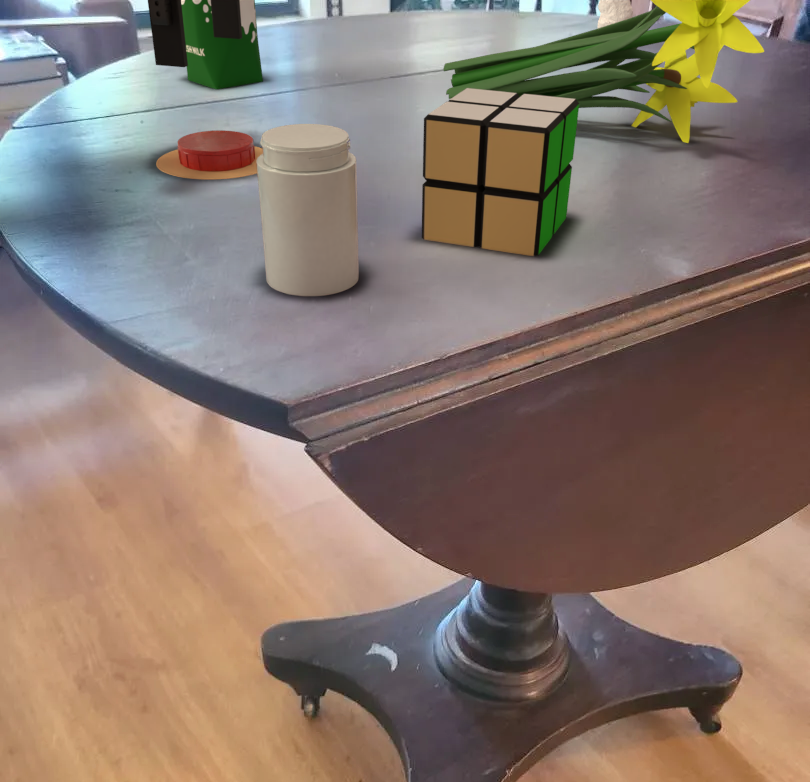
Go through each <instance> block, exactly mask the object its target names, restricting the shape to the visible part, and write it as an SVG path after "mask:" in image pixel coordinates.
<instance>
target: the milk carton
mask: <svg viewBox="0 0 810 782" xmlns="http://www.w3.org/2000/svg"><path fill="white" fill-rule="evenodd" d="M181 5H182V14H183V24H184V33H185V42H186V52H187V61H188V66H186V75H187V76H186V77H187V81H189V82H192V83H195V84H198V85H200V86H201V85H202V86H204V87H208V88H210V89H213V90H222V89H228V88H229V89H230V88H234V87H239V86H247V85H251V84H256V83H262V82H264V78H263V77H264V76H263V69H262V62H261V53H260V46H259V36H258V25H257V12H256V11H257V10H256V0H240V13H241V27H242V38H241V39H231V38H217V37H214V33H213V21H212V10H211V0H181Z"/></svg>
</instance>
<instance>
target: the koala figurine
mask: <svg viewBox="0 0 810 782" xmlns="http://www.w3.org/2000/svg"><path fill="white" fill-rule="evenodd" d="M631 4H632V2H631V0H599V1H598V4H597V9H598V11H599V13H600V14H599V18H598V21H597V29H598V28H601V27H604V26H607V25H610V24H613V23H617V22H620V21H623V20H626V19H629V18H632V17H634V10H633V6H632V5H631Z"/></svg>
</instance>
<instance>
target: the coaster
mask: <svg viewBox="0 0 810 782" xmlns="http://www.w3.org/2000/svg"><path fill="white" fill-rule="evenodd" d="M254 148H255V159H254V161H253V163H251V164H250V165H248V166H245V167H243V168H239V169H234V170H227V171H198V170H194V169H189V168H187V167H184V166H183V165H182V164H180V160H179V154H178V148H177V149H174V150H171V151H169V152H166V153H164V154H162V155H161V156H160V157H158V159H157V160H156V164H155V165H156V168H157V169H158V170H159V171H160V172H162V173H164V174H167V175H170V176H174V177H178V178H183V179H191V180H227V179H237V178H238V179H239V178H244V177H248V176H253V175H257V164H256V160H257V158H258V157H259V156H260V155H261V154H263V149H262V147H259V146H255V145H254Z"/></svg>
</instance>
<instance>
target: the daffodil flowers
mask: <svg viewBox="0 0 810 782" xmlns="http://www.w3.org/2000/svg"><path fill="white" fill-rule="evenodd" d="M650 1H651V2H652V3H653V4H654V5H655V7H654V8H653V9H651V10H649V11H646V12H643V13H640V14H638V15H635V16H633V17H632V18H629V19H626V20H623V21H620V22H617V23H613V24H610V25H607V26H604V27H601V28H598V27H597V28H594V29H591V30H587V31H585V32H581V33H578V34H575V35H571V36H567V37H564V38H561V39H557V40H554V41H551V42H547V43H544V44H541V45H535V46H532V47H527V48H526V47H525V48H520V49H515V50H507V51H502V52H496V53H490V54H485V55H481V56H475V57H470V58H465V59H460V60H456V61H450V62H445V64H444V66H443V68H442V69H443V72H448V71H453V70H454V73H453V74H452V76H451V79H450V83H451V86H452V87H449V88H448V89H446V92H445V95H446V96H447V95H448V100H450V99H451V98H453V97H454V96H456V95H457V94H459V93H460V92H462V91H463V90H465V89H466V88H472V89H482V90H492V91H501V92H511V93H517V94H518V95H519V97H521V96H522V95H523V94H532V95H542V96H551V97H561V98H571V99H576V100H577V101H578V102H579V109H587V108H588V109H589V108H592V109H593V108H624V109H625V108H628V109H635V110H639V113H638V114H637V116H636V117H635V119H634V120H633V122H632V124H630V125H631V127H633V128H637V127H638V126H639V125H640V124H643V123H644V122H646V121H647V120H648V119H650V118H651V117H653V116H656V117H659V118H661V119H663V120H665V121H667V122H668V123H669V122H670V123H672V124H673V127H674V128H675V131H676V133H677V135H678V136H679V138H680V140H681V142H682V143H687V144H689V143H690V137H691V121H692V120H691V119H692V109H691V108H695V104H697V103H698V102H699V103H700V102H701V103H712V104H713V103H714V104H735V103H738V99H737V98H736V97H735V96H734V95H733V94H732V93H731V92H730V91H729V90H728V89H726V88H725V87H723V86H721V85H720V84H718V83H715V82H712V78H713V75H714V72H715V69H716V65H717V62H718V58H719V57H718V56H719V54H720V51H721V50H722V49H723V48H724V46H726V47H728V48H730V49H732V50H734V51H737V52H742V53H746V54H761V53H765V49H764V47H763V46H762V44H761V43H760V41H759V40H758V39H757V37H756V36H755V35H754V34H753V33H752V32H751V30H750V29H749V28H748V27H747V26H746V25H745V24H744V23H743V22H742V21H741V20H740V19H739V18H738V17H737V16H736V15H734V14H736V13H737V12H738V11H739V10H740V9H742V7H744V6H745V5H747V4H748V3H749V2H750V1H751V0H650ZM665 14H668V15H669V16H671V17H673V18H674V19H675V20H677V21H679V22H680V23H676V24H671V25H667V26H663V27H657V28H652V27H653V26H654V24H655V23H657V22H658V20H660V18H661V17H662V16H664V15H665ZM651 28H652V29H651ZM661 43H663V44H662V45H661V47H660V49H659V50H658V52H651V51H647V50H643V49H638V48H642V47H645V46H650V45H654V44H661ZM689 49H691V50H694V53H693V54H692V55H690V56H687V51H688V50H689ZM626 60H632V61H629V62H625V63H623V62H624V61H626ZM601 62H602V63H601ZM603 62H604V63H603ZM595 63H601V64H598V65H596V66H593V67H591V68H588V69H585V70H578V71H573V72H567V73H560V74H554V75H549V76H544V75H548V74H550V73H554V72H556V71H561V70H565V69H568V68H574V67H579V66H584V65H588V64H589V65H590V64H595ZM621 63H623V64H621ZM663 63H664V66H663V67H661V66H660V65H661V64H663ZM540 76H543V77H540ZM698 76H699V77H698ZM640 85H647V86H648V87H649V88H651V89H654V90H655V91H654V93H653V94H652V95H651V96H650V98H648V100H647V101H646V103H645V104H644V103H642V102H638V101H634V100H630V99H626V98H622V97H619V96H613V95H612V96H611V95H603V94H606V93H609V92H612V91H616V90H626V91H632V92H639V93H645V94H649V93H651V91H649V90H647V89H645V88H643V87H641V86H640ZM665 107H666V108H667V111H668V113H669V117H670V118H671V119H669V118H668V117H666V116H665V115H663V114H662V113H661V112H660V111H662V110H663V109H664V108H665Z"/></svg>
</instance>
